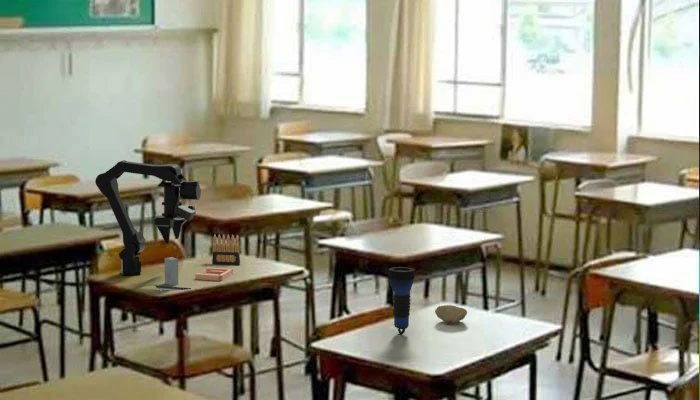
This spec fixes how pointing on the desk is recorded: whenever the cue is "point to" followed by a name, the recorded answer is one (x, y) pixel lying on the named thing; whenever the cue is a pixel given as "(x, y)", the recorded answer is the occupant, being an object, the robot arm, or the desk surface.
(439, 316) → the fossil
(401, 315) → the flashlight
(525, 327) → the desk surface
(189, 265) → the desk surface
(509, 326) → the desk surface
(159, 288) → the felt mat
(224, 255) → the ammunition clip
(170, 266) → the grey rectangular block
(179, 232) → the robot arm
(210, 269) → the slotted box
